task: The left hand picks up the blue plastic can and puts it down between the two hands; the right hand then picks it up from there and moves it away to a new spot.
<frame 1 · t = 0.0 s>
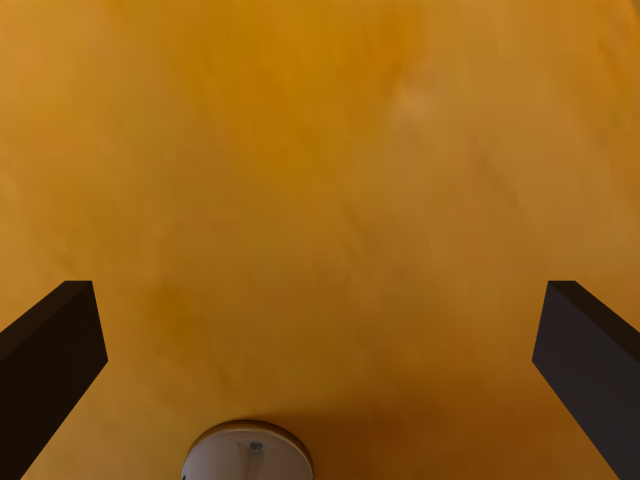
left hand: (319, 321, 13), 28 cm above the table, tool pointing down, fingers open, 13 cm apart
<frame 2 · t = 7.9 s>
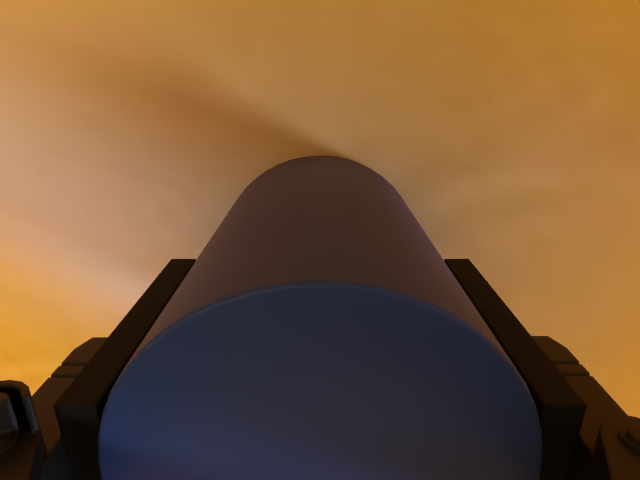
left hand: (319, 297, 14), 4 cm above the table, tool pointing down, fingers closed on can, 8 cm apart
can: (320, 251, 18), on the table, touching left hand
when the left hand's fingers open (5 cm above the table, at t = 14.7 s): can drops 1 cm, on the table.
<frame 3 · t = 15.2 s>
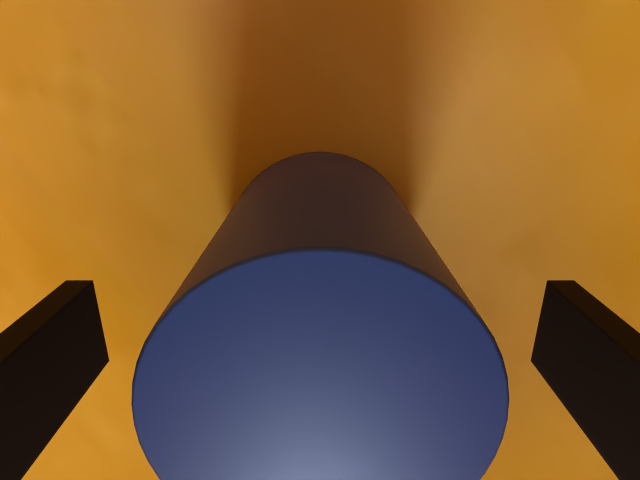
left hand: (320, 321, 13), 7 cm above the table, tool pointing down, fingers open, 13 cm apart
can: (319, 241, 19), on the table
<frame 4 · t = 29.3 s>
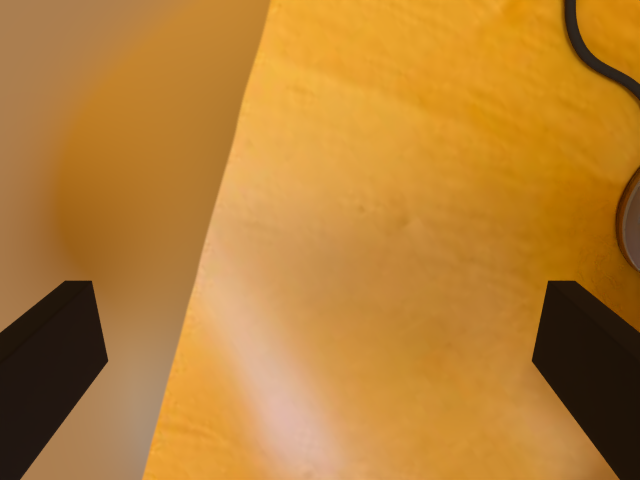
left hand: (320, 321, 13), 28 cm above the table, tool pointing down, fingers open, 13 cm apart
when the right hand's fingers open (5 cm above the table, at t = 40.9 s): can drops 1 cm, on the table.
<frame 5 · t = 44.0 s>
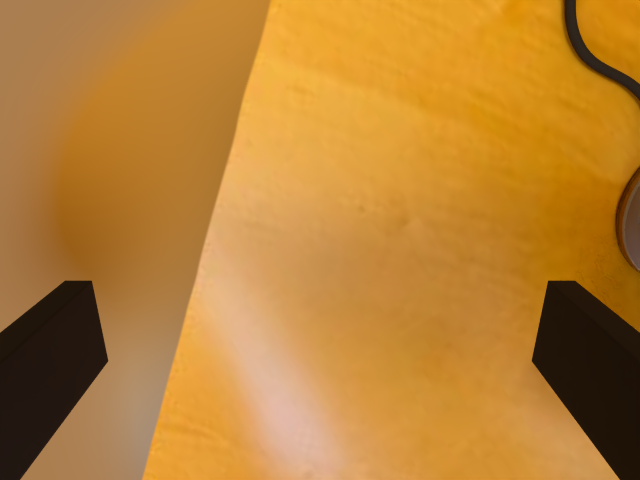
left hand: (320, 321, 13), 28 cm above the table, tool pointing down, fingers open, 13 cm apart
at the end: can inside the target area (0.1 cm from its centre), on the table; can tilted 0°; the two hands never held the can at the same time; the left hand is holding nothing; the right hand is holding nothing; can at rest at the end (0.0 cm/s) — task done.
